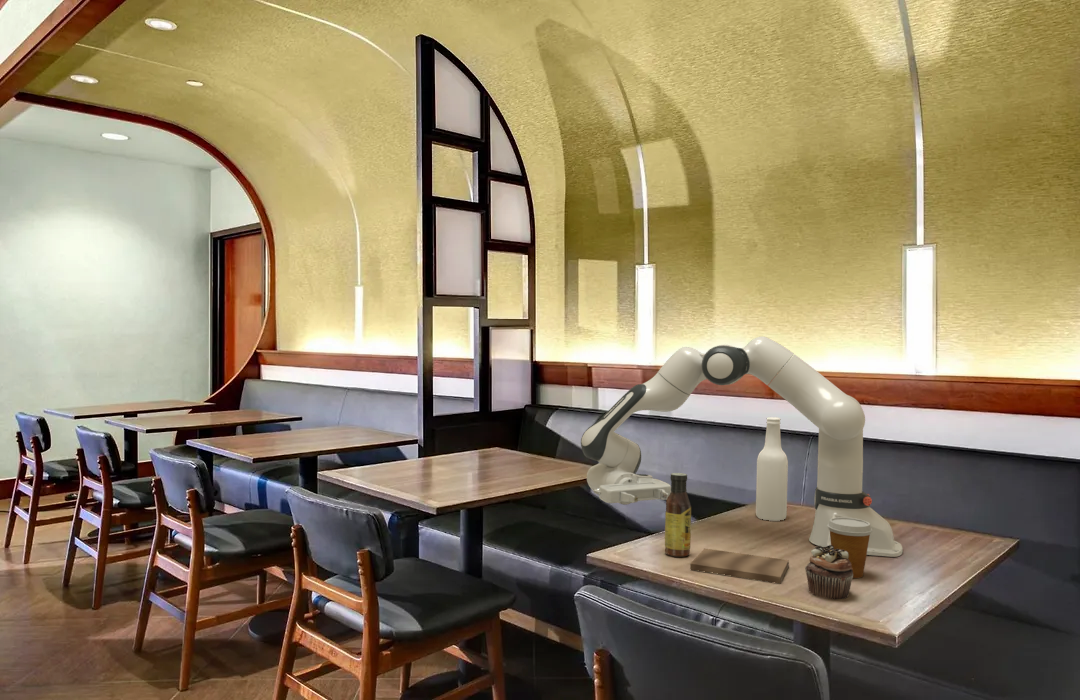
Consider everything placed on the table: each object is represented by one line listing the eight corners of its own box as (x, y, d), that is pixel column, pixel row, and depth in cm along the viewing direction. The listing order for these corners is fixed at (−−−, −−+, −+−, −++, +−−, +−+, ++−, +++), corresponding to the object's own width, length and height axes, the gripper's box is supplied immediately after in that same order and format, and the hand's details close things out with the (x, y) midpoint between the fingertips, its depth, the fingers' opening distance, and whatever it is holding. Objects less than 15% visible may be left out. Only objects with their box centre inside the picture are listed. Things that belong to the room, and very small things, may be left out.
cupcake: (862, 595, 161) (863, 548, 160) (835, 604, 155) (836, 555, 155) (822, 582, 168) (823, 537, 168) (795, 590, 163) (796, 544, 163)
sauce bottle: (690, 559, 184) (692, 477, 184) (664, 556, 185) (665, 475, 185) (690, 551, 191) (692, 472, 190) (665, 549, 192) (666, 471, 191)
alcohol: (773, 513, 232) (775, 415, 232) (792, 520, 224) (795, 419, 223) (749, 515, 229) (752, 416, 228) (768, 522, 221) (771, 419, 220)
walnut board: (788, 566, 180) (788, 560, 180) (780, 583, 167) (780, 577, 167) (704, 554, 188) (704, 548, 188) (690, 570, 175) (690, 563, 175)
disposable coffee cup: (879, 579, 171) (881, 526, 171) (840, 581, 169) (842, 527, 169) (855, 566, 180) (856, 516, 180) (818, 568, 179) (819, 517, 179)
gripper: (590, 478, 207) (616, 488, 194) (654, 474, 215) (683, 483, 203) (590, 501, 207) (616, 513, 194) (653, 496, 216) (682, 507, 203)
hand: (650, 498), depth 199 cm, fingers open, 8 cm apart
